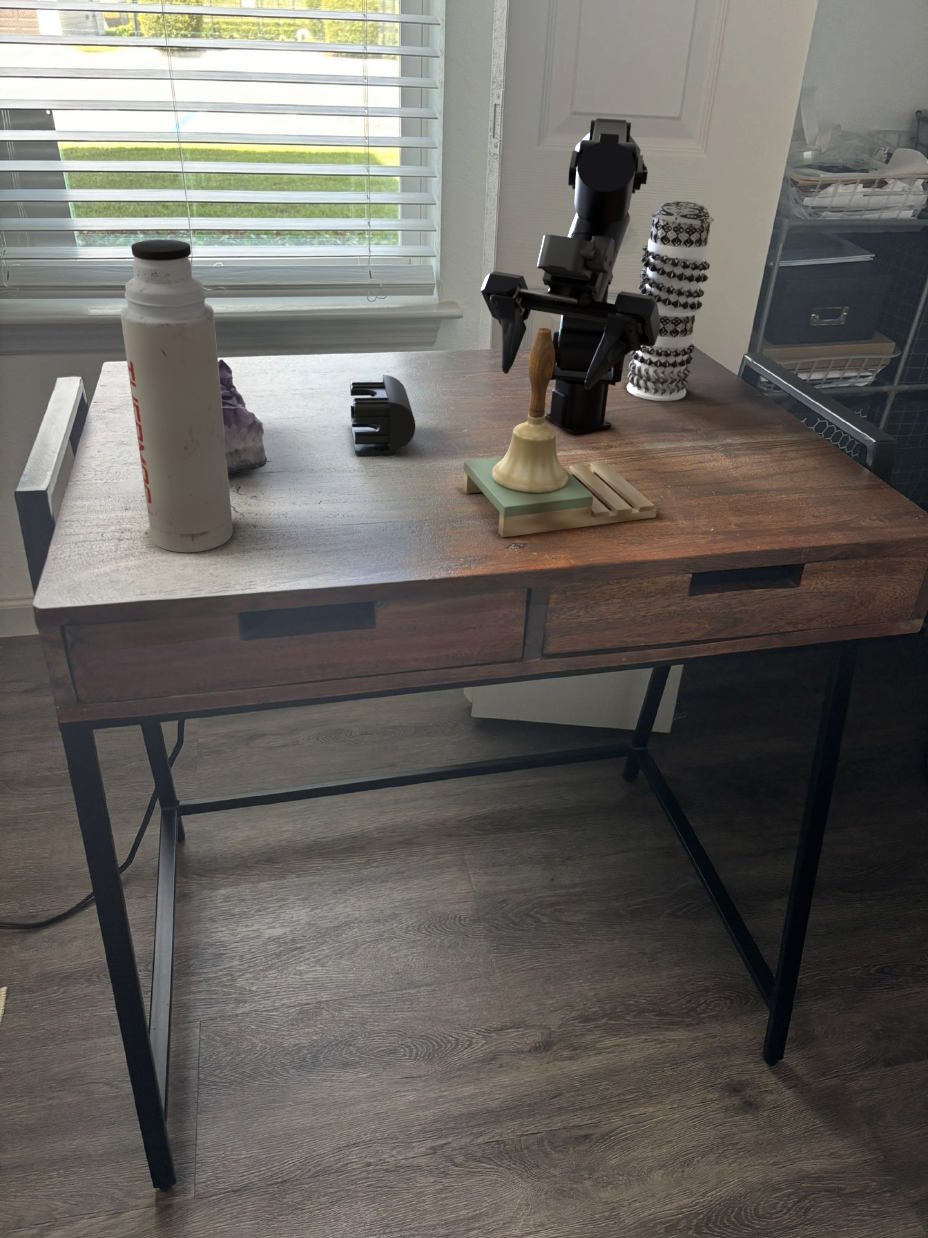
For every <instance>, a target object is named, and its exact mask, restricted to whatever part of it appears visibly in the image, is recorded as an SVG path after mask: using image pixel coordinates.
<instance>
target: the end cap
mask: <svg viewBox="0 0 928 1238" xmlns="http://www.w3.org/2000/svg"><path fill="white" fill-rule="evenodd" d="M349 384H350V392H349V393H350V396H351V397H353V398H352V403H353V404H350V421H351V426H350V428H351V435H352V442H353V449H354V454H355V456H358V457H376V456H377V457H379V456H380V457H383V456H385V457H386V456H387V457H388V456H391V455H394V454H397V452H399V451H401V450H402V449H404V448H405V447H406V446H407V445H409V443H410V442H411V441H412V440H413V437H414V436H415V432H416V427H417V426H416V420H415V417H414V413H413V410H412V407H411V403H410V399H409V397H408V392H407V389H406V388H405V386H404V384H403V383H402V382H401V380H399V379H398V378H396V377H394V376H391V375H388V374H382V381H351V382H350V383H349ZM355 396H356V397H355ZM358 396H359V397H358ZM362 396H364V397H362ZM366 396H369V397H366Z"/></svg>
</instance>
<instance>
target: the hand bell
mask: <svg viewBox="0 0 928 1238" xmlns="http://www.w3.org/2000/svg"><path fill="white" fill-rule="evenodd" d="M552 335H553V334H552V329H550V328H547V327H541V328H538V329H537V333H536V336H535V339H534V340H533V343H532V345H531V348H530V351H529V355H528V377H529V383H530V399H529V405H528V411H527V413H528V414H527V420H526V421H525V422H522V423H519V424H517V425H516V426H515V427H514V428H513V431H512V435H511V436H512V437H511V439H510V443H509V446H508V449H507V451H506V453H505V455H504V456H503V457H504V458H503V459H502V460H501V461H500V462H498V463H497V464H496V465H495V467H494V468H493V470H492V477H493V479H494V480H495V481H496V482H497V483H499V484H500V485H502V486H504V487H506V488H509V489H512V490H515V491H520V492H528V493H546V492H552V491H556V490H558V489H561V488H563V487H564V486H566V485H567V483H568V480H569V478H568V474H567V472H566V470H567V469H566V468H565V469H566V470H565V469H564V466H562V463H560V461H559V458H558V453H557V443H556V439H557V438H556V431H555V429H554V428H553V427H551V426H550V425H547V424H546V422H545V415H546V398H547V390H548V387H549V384H550V382H551V381H552V380H551V377H552V373H553V369H554V362H555V351H554V345H553V336H552Z"/></svg>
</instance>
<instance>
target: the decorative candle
mask: <svg viewBox="0 0 928 1238" xmlns="http://www.w3.org/2000/svg"><path fill="white" fill-rule="evenodd" d="M651 216H652V224H651V229H650V237H649V238H648V242H647V243H648V244H647V245H644V246H643V247H641V248H642V251H643V252H644V253H643V254H642V256H641V258H640V262H641V263H642V266H644V268H642V269H641V270H640V274H639V277H640V279H641V281H640V282H639V284H638V285H637V286H638V287H637V288H638V289H639V292H640V294H642V295H649V296H653V297H654V298H655V300H656V302H657V305H658V312H659V318H660V330H659V334H658V337H657V340H656V343H655V345H653V346H651V347H648V346H643V345H642V346H641V349H640V350H639V351H630V356H631V357H632V360H631V361H630V362H629V364H628V369H629V373H628V374H627V377H626V378H627V380H628V384H627V385H626V390H627V392H628V393H630V394H632V395H633V396H635V397H638V398H641V399H644V400H650V401H654V402H655V401H656V402H671V401H679V400H681V399H683V398H685V396H686V395H687V390H686V388H687V387H688V384H689V383H690V381H689V380H688V378H689V376H690V374H691V372H692V371H691V368H689V365H690V364H691V362H692V361H693V357H692V355H691V354H692V353H693V352H694V350H695V346H694V344H693V342H694V336H695V330H694V325H695V323H696V315H698V314H699V313H700V311H701V308H702V307H703V303H702V302H701V301H700V300H699V299H700V298H701V297H704V295H705V291H704V289H702V288H701V285H702V284H703V283H704V282H707V281H708V280H709V276H708V275H707V274H706V273H705V271H707V270H709V269H710V267H711V265H710V262H709V261H708V262H707V259H705V258H706V257H707V256H708V252H709V246H710V243H709V242H708V240H709V237H710V233H711V232H710V231H711V229H710V227H711V225H712V223H713V222H714V221H715V218H713V217H711V216H710V213H709V210H708V208H707V207H705V206H704V205H703V204H701V203H696V202H691V201H667V202H665V203H663V204H661V206H660V207H659V208H658V210H657V211H655V212H653V213H652V214H651Z"/></svg>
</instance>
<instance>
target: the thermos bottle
mask: <svg viewBox="0 0 928 1238" xmlns="http://www.w3.org/2000/svg"><path fill="white" fill-rule="evenodd" d="M130 248H131V253H132V256H133V261H132V268H133V277H132V278H131V279H129V281H127V282H126V283H125V293H124V298H125V299H126V303H127V305H125V306H123V308H122V309H121V310H120V320H121V327H122V334H123V341H124V350H125V357H126V363H127V371H128V379H129V386H130V393H131V394H130V395H131V401H132V408H133V415H134V422H135V430H136V436H137V445H138V452H139V459H140V466H141V473H142V480H143V488H144V494H145V503H146V510H147V516H148V524H149V531H150V532H149V533H150V537H151V540H152V542H153V543H154V544H155V545H156V547H157V546H158V547H159V548H161V549H163V550H167V551H169V552H176V553H198V552H205V551H209V550H212V549H215V548H218V547H221V546H222V545H224V544H225V543H227V542H228V541H229V540H230V539H231V538H232V535H233V532H234V529H233V528H234V527H233V517H232V504H231V494H230V482H229V474H228V472H227V465H226V458H225V441H224V424H223V413H222V401H221V390H220V379H219V367H218V362H219V357H218V344H217V336H216V335H217V334H216V324H215V323H216V322H215V312H214V308H213V306H211V305H210V304H208V303H206V301H205V300H206V298H207V294H206V293H205V288H204V284H203V282H202V281H201V280H200V279H198V278H197V277H195V276H193V271H192V269H193V268H192V263H191V262H192V261H191V260H190V258H189V256H190V255H191V254H192V248H191V245H190V243H188V242H186V241H182V240H177V239H168V238H167V239H164V238H162V239H161V238H160V239H157V238H156V239H145V240H141V241H137V242H134V243H132V244H131V247H130Z"/></svg>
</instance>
